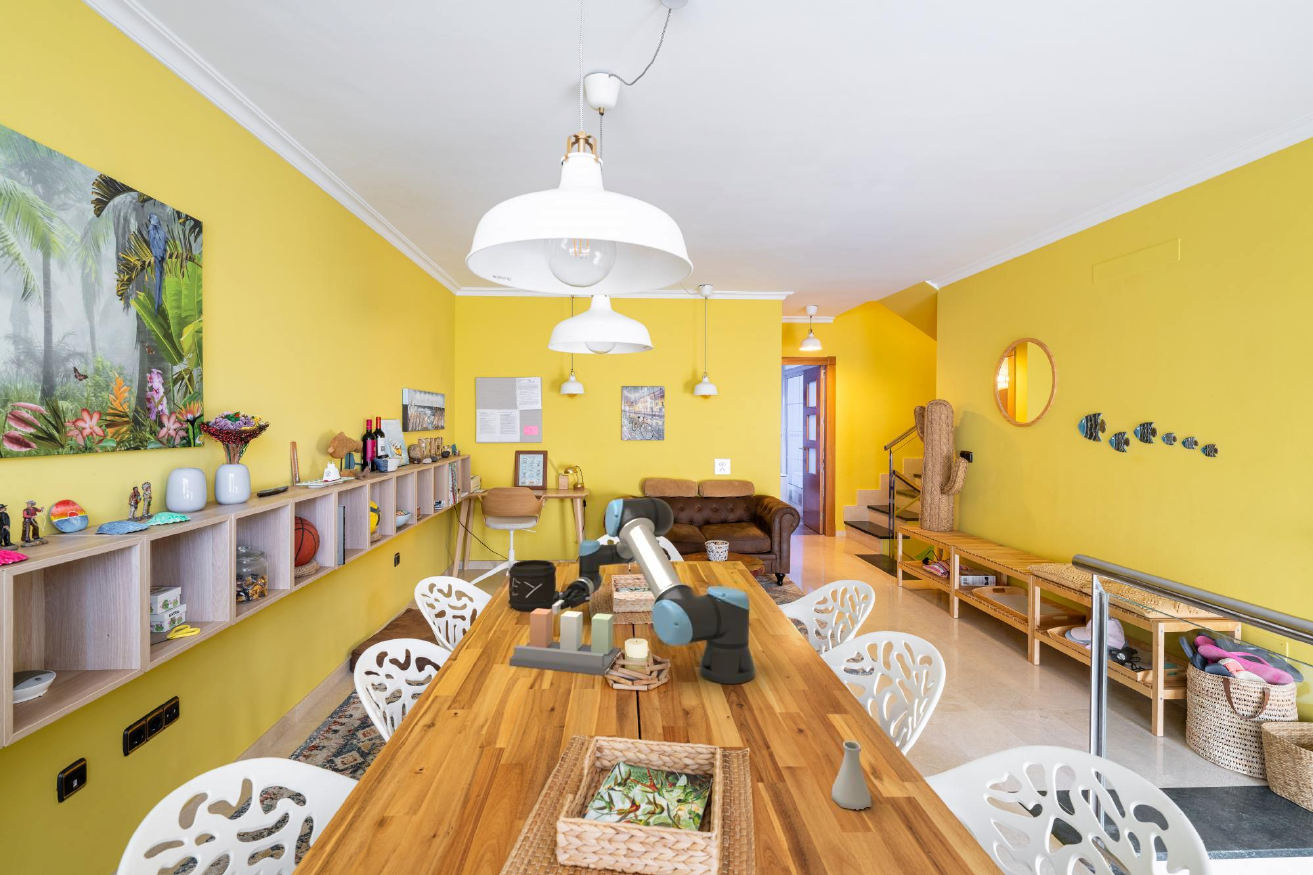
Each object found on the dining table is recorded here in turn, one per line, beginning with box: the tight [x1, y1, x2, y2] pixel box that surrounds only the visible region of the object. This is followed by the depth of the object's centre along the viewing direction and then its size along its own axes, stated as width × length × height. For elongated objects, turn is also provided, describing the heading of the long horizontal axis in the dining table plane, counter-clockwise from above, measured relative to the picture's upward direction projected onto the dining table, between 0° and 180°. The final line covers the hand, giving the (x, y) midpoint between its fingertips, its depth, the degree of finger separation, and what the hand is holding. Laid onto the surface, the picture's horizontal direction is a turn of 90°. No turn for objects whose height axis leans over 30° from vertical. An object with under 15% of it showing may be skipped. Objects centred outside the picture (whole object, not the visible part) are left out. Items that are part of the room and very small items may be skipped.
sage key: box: [590, 613, 614, 655], centre depth 177 cm, size 5×5×10 cm
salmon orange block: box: [529, 608, 554, 648], centre depth 181 cm, size 5×5×10 cm
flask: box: [831, 740, 872, 811], centre depth 111 cm, size 7×7×10 cm
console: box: [509, 640, 622, 676], centre depth 176 cm, size 28×16×5 cm, turn 77°
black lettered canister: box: [508, 559, 557, 613], centre depth 228 cm, size 18×18×16 cm
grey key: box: [559, 610, 584, 651], centre depth 179 cm, size 5×5×10 cm
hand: (554, 610), depth 191 cm, fingers closed
